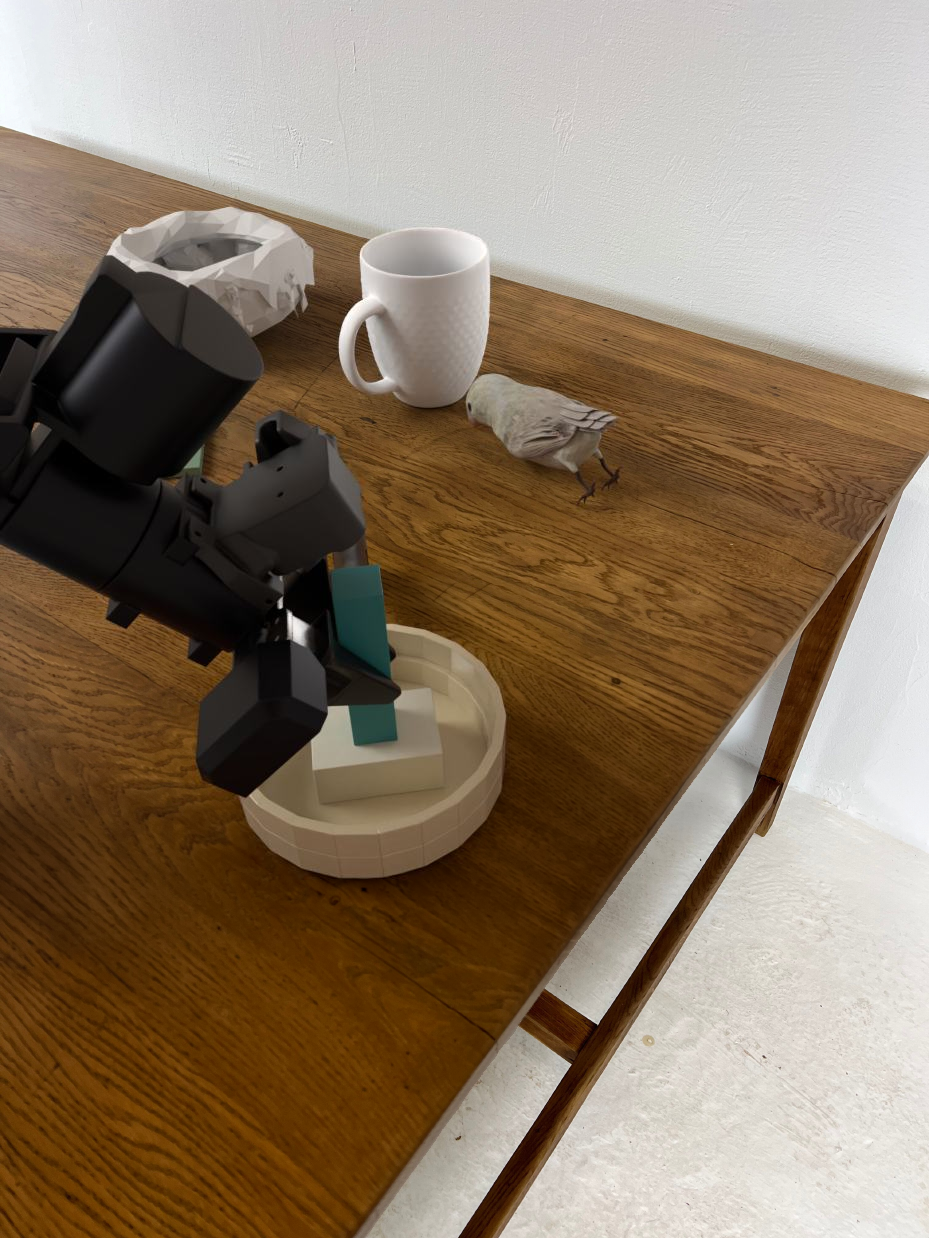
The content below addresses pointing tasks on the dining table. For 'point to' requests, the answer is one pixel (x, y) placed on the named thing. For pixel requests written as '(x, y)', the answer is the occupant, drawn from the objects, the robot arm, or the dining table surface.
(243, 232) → the bowl
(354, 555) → the pan handle
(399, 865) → the pan
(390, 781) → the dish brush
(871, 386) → the dining table surface
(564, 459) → the decorative bird
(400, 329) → the mug
